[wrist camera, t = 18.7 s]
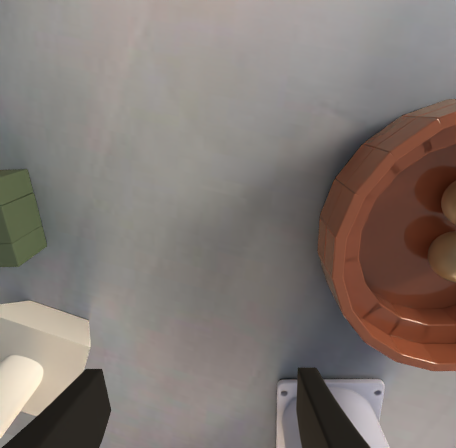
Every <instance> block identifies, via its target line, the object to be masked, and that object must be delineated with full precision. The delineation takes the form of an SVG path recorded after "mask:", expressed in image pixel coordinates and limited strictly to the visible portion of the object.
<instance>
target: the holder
mask: <svg viewBox="0 0 456 448" xmlns="http://www.w3.org/2000/svg"><path fill="white" fill-rule="evenodd" d="M41 225H42V223H41V219H40V215H39V211H38V207H37V203H36V199H35V195H34V193H33V189H32V185H31V181H30V177H29V173H28V170H27V169H18V170H0V267H19V266H20V265H22V264H23V263H25V262H26V261H27V260H29V259H30V258H31V257H33V256H34V255H36V254H37V253H38V252H40V251H41V250H42V249H44V248H45V247H47V243H46V239H45V235H44V231H43V227H42V226H41Z"/></svg>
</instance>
